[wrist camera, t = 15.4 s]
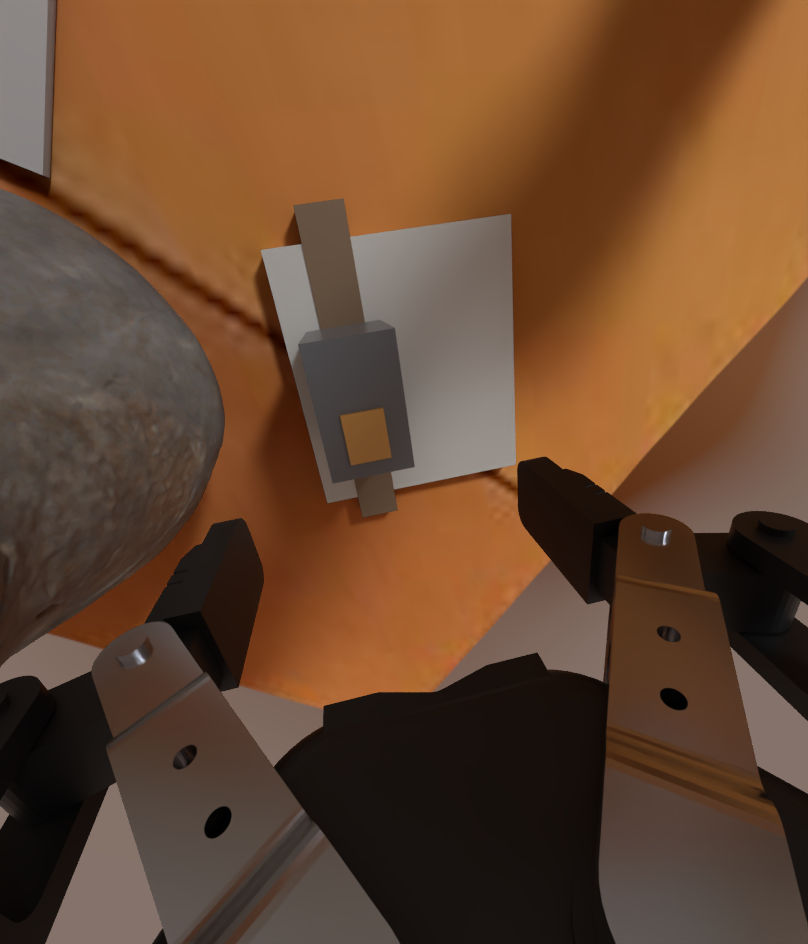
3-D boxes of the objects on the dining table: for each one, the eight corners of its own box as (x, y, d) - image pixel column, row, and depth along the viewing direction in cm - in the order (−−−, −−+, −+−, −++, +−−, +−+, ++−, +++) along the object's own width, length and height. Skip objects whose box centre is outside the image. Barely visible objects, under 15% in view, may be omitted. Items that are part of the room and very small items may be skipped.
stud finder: (380, 319, 26) (395, 328, 20) (397, 430, 30) (415, 468, 23) (306, 332, 26) (297, 344, 20) (332, 443, 29) (332, 485, 23)
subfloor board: (501, 181, 26) (511, 175, 24) (509, 477, 35) (516, 485, 34) (255, 215, 24) (250, 210, 23) (332, 514, 34) (332, 524, 32)
